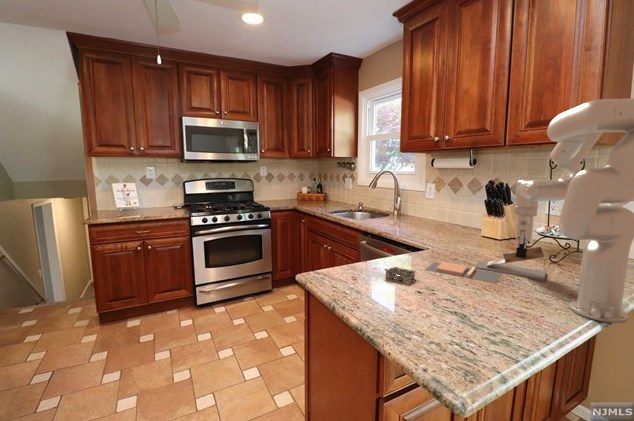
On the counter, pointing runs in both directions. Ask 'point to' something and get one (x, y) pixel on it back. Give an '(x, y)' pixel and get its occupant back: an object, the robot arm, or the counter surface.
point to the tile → (452, 268)
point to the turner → (511, 257)
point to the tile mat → (471, 273)
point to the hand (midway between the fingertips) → (521, 256)
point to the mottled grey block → (404, 274)
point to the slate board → (513, 270)
